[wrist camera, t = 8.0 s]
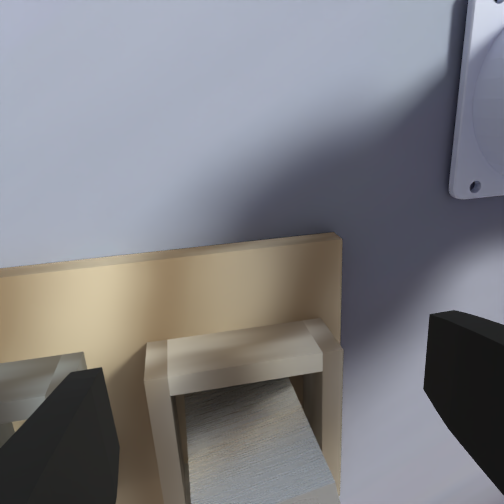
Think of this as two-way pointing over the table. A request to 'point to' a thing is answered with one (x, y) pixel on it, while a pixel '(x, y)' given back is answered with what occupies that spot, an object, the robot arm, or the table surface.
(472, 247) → the table surface
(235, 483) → the brushed aluminum block
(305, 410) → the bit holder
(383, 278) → the table surface
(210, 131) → the table surface
